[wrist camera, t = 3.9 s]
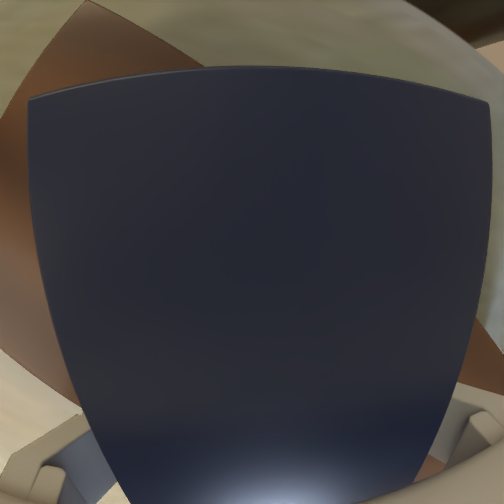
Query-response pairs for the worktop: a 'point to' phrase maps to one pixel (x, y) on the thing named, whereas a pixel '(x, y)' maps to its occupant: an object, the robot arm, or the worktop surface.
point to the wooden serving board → (19, 211)
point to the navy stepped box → (261, 273)
